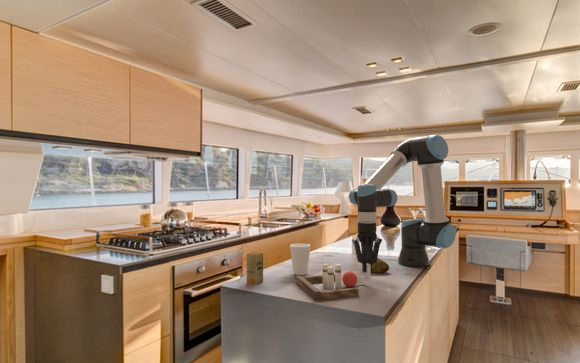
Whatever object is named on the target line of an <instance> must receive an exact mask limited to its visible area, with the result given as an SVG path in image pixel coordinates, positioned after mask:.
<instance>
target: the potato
mask: <svg viewBox="0 0 580 363" xmlns="http://www.w3.org/2000/svg"><path fill="white" fill-rule="evenodd" d="M367 263H368V262H367ZM389 270H390V265H389V264H388V263H387V262H386V261H384V260H382V259H380V258H379V257H377V261H376V262H374V264H373V265H372V272H371V273H376V274H383V273H387V272H388V271H389Z"/></svg>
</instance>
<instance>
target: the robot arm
mask: <svg viewBox="0 0 580 363" xmlns="http://www.w3.org/2000/svg"><path fill="white" fill-rule="evenodd" d="M448 154H449V146H448V142H447V141H446V139H444V137H443V136H441V135H440V134H430V135H424V136H417V137H411V138H408V139H405V140H404V141H402V142H401V143H399V145H397V146H396V147H395V148H394V149H393V150H392V151H391V152H390V153H389V157H387V159H386V160H385V161H384V162H383V163H382V164H381V165H380V166H379V167H378V168H377V169H376V170H375V171H374V172H373V174H371V176H370V177H368V178H367V179H366V181H364V183H363V184H359V185H358V187H357V188H354V189H351V190H350V192H349V194H348V201H349V202H350V203H351V204H352V205H355V206H357V235H356V238H354V239H352V240H351V242H352V245H354V246H353V247H354V250H355V255H356V259H357V262H358V263H360V264H361V265H362V266H361V268H362V272H363V280H365V281H367V282H370V281H372V280H371V276H372V273H373V272H372V265H373V264H374V262H376V261H377V258H379V257H378V256H379V250H380V247H381V244H382V241H383V239H382V238H380V237H378V234H377V223H376V222H377V220H378V219H377V208H389V207H393V206H395V205H396V204H397V202H398V194H397V191H395V190H393V189H389V188H384V186H386V184H387V183H388V182H389V181H390V180H391V179H392V177H394V176H395V174H396V173H398V171H399V170H400V169H401V168H403V167H405V166H406V165H408V164H409V163H411V162H417V166H418V167H419V168H420V169H421V176H422V177H421V178H422V189H423V198H424V208H425V217H424V218H415V219H414V218H413V219H403V220H402V221H401V227H400V230H401V231H400V232H401V233H400V234H401V236H400V237H401V249H400V253H399V256H398V259H397V262H398V264H399V265H402V266H404V267H405V266H407V267H411V268H414V267H416V268H420V267H421V268H423V267H428V266H430V260H429V256H428V253H427V250H426V247H432V248H437V249H448V248H450V247H451V246H452V245H453V244H454V242H455V239H456V237H457V234H456V233H457V231H456V227H455V226H454V225H453V224H451V223H450V218H448V217H447V216H446V210H445V199H444V198H445V197H444V188H443V178H442V165H443V164H444V163H445V162H444V160H445V159H446V158H447V157H448ZM383 188H384V189H383ZM367 262H368V263H367Z"/></svg>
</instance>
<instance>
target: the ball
mask: <svg viewBox="0 0 580 363" xmlns="http://www.w3.org/2000/svg"><path fill="white" fill-rule="evenodd" d="M341 282H342V283H343V285H344V286H346V288H354V287H356V286H355V285H357V283H358V276H357V275H356V273H355V272H352V271H345V273H343V274H342V276H341ZM353 286H354V287H353Z"/></svg>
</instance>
